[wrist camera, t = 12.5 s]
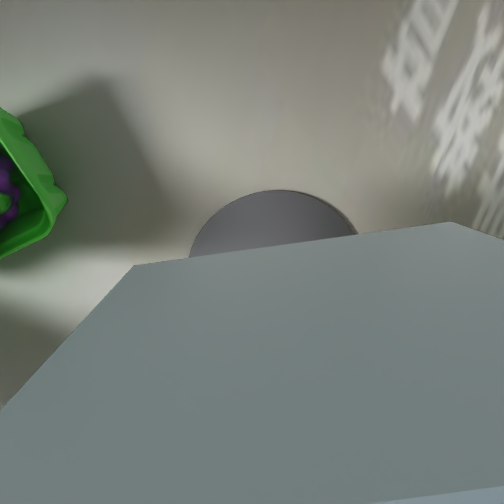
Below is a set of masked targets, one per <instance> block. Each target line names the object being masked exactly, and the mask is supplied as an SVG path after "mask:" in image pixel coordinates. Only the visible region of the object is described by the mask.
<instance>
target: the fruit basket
mask: <svg viewBox="0 0 504 504" xmlns="http://www.w3.org/2000/svg"><path fill="white" fill-rule="evenodd" d="M24 135H25V133H24V131H23V127H22V125H21V123H20V121H19V120H18V119H17V118H15V117H14V116H12V115H11V114H9V113H8V112H6V111H5V110H3V109H2V108H0V259H2V258H4V257H6V256H8V255H10V254H12V253H14V252H16V251H18V250H20V249H22V248H24V247H26V246H28V245H30V244H32V243H34V242H36V241H39V240H41V239H43V238H44V237H46V236H47V235H48V234H49V233H50V232H51V230H52V228H53V226H54V223H55V220H56V217H57V215H58V214H59V213H60V211H61V210H62V208H63V207H64V206H65V204H66V203H67V197H66V195H65V194H64V192H63V191H62V190H60V189H59V188H58V187H57V186H55V181H54V178H53V174H52V173H51V171H50V170H49V168H48V166H47V165H46V163H45V162H44V160H43V158H42V157H41V155H40V154H39V152H38V150H37V149H36V147H35V146H34V144H33V143H31V142H30V141H29V140H28V139H27V138H26V137H25V136H24Z"/></svg>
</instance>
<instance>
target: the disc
mask: <svg viewBox="0 0 504 504" xmlns="http://www.w3.org/2000/svg"><path fill="white" fill-rule="evenodd" d="M350 235H354V233H353V231H352V230H351V228H350V226H349V225H348V224H347V223H346V222H345V220H344V219H343V218H342V217H341V216H340V215H339V214H338V213H337V212H335V211H334V210H333V209H332V208H330V207H329V206H327V205H326V204H324V203H323V202H321V201H319V200H317V199H315V198H313V197H310V196H307V195H304V194H301V193H296V192H291V191H279V190H275V191H263V192H259V193H254V194H250V195H247V196H245V197H242V198H239V199H237V200H235V201H233V202H231V203H230V204H228V205H227V206H225V207H224V208H222V209H221V210H219V211H218V212H217V213H216V214H215V215H214V216H213V217H212V218H210V220H209V221H208V222H207V223H206V224H205V226H204V227H203V228H202V230H201V231H200V233H199V234H198V236H197V237H196V240H195V242H194V244H193V246H192V248H191V251H190V255H189V258H191V257H198V256H206V255H213V254H220V253H227V252H234V251H242V250H249V249H256V248H263V247H271V246H278V245H285V244H292V243H299V242H307V241H314V240H321V239H328V238H336V237H343V236H350Z"/></svg>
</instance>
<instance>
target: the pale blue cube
mask: <svg viewBox="0 0 504 504" xmlns="http://www.w3.org/2000/svg"><path fill="white" fill-rule="evenodd" d="M0 504H504V240H503V239H500V238H497V237H494V236H491V235H488V234H485V233H483V232H480V231H477V230H474V229H471V228H468V227H465V226H462V225H459V224H457V223H454V222H444V223H437V224H429V225H422V226H415V227H408V228H400V229H393V230H386V231H379V232H372V233H364V234H357V235H350V236H343V237H336V238H328V239H321V240H314V241H307V242H299V243H292V244H285V245H278V246H271V247H263V248H256V249H249V250H242V251H234V252H227V253H220V254H213V255H206V256H198V257H191V258H184V259H177V260H170V261H162V262H155V263H148V264H141V265H134V266H133V267H132V268H131V269H130V270H129V271H128V272H127V273H126V274H125V276H124V277H123V278H122V279H121V280H120V281H119V282H118V283H117V284H116V285H115V286H114V288H113V289H112V290H111V291H110V292H109V293H108V294H107V295H106V296H105V297H104V298H103V299H102V301H101V302H100V303H99V304H98V305H97V306H96V307H95V308H94V309H93V310H92V311H91V312H90V314H89V315H88V316H87V317H86V318H85V319H84V320H83V321H82V322H81V323H80V324H79V326H78V327H77V328H76V329H75V330H74V331H73V332H72V333H71V334H70V335H69V336H68V337H67V339H66V340H65V341H64V342H63V343H62V344H61V345H60V346H59V347H58V348H57V349H56V350H55V352H54V353H53V354H52V355H51V356H50V357H49V358H48V359H47V360H46V361H45V362H44V364H43V365H42V366H41V367H40V368H39V369H38V370H37V371H36V372H35V373H34V374H33V375H32V377H31V378H30V379H29V380H28V381H27V382H26V383H25V384H24V385H23V386H22V387H21V388H20V390H19V391H18V392H17V393H16V394H15V395H14V396H13V397H12V398H11V399H10V400H9V401H8V403H7V404H6V405H5V406H4V407H3V408H2V409H1V410H0Z"/></svg>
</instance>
